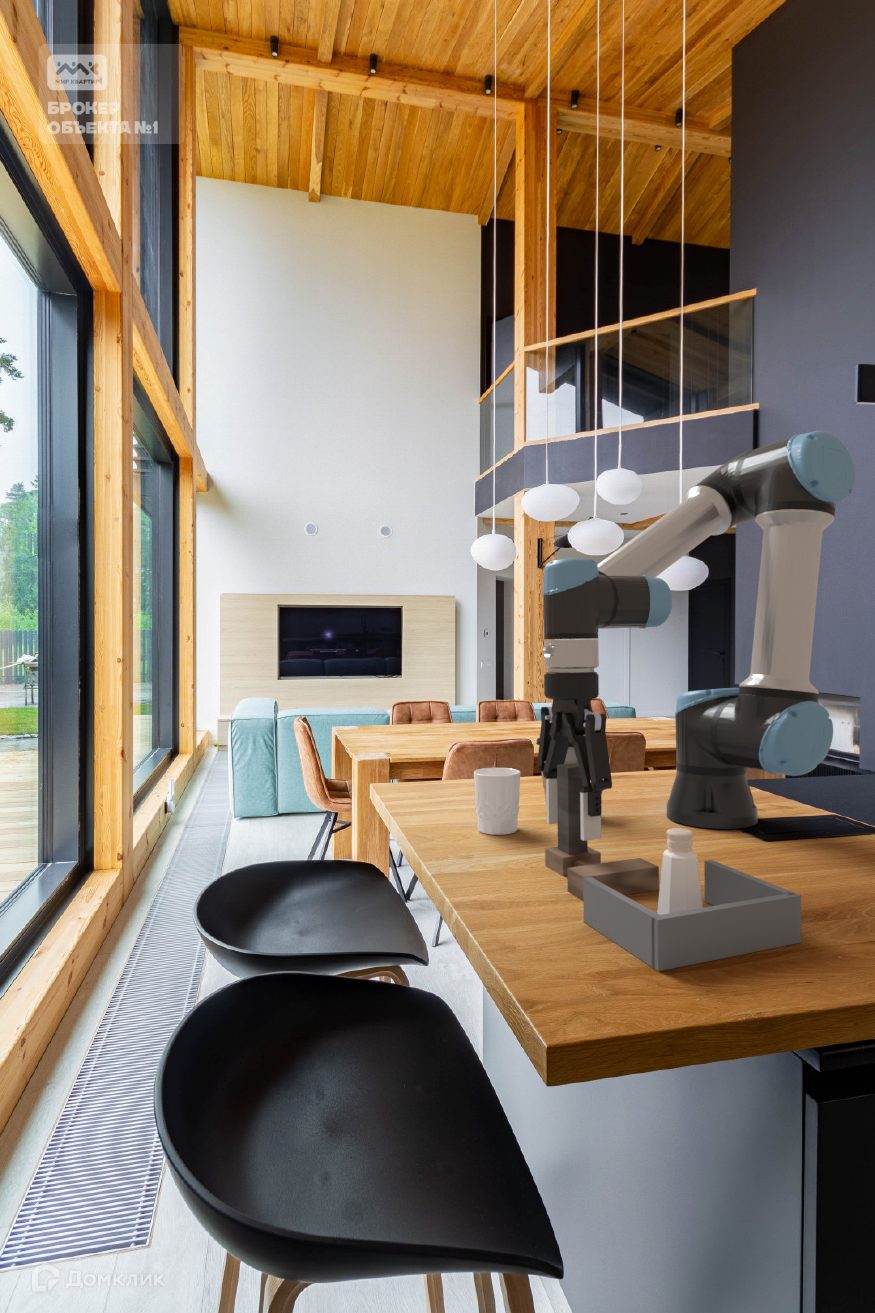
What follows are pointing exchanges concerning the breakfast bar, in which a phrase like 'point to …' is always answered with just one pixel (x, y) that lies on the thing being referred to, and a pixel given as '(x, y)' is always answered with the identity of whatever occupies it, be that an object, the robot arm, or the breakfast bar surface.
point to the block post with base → (584, 860)
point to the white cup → (497, 800)
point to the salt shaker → (679, 874)
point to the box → (698, 920)
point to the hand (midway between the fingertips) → (572, 830)
